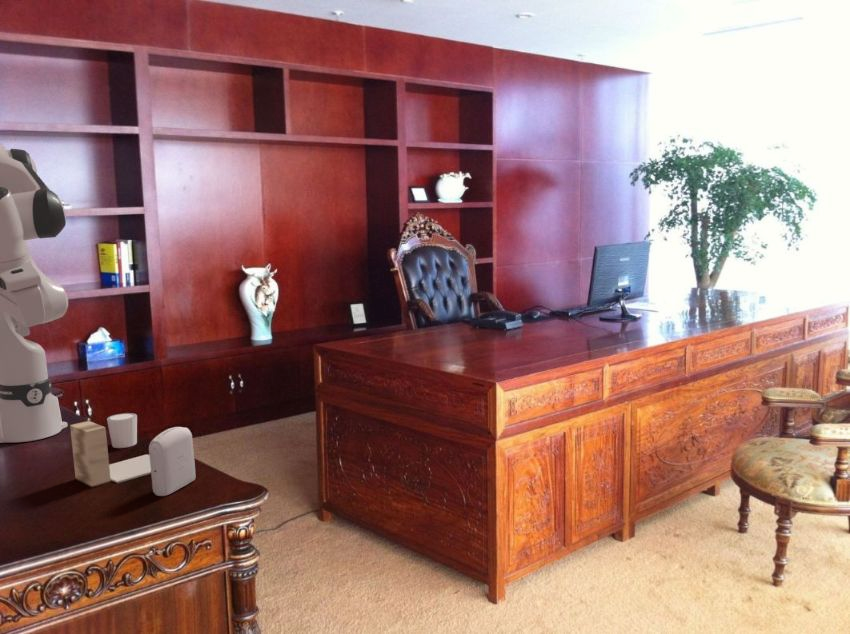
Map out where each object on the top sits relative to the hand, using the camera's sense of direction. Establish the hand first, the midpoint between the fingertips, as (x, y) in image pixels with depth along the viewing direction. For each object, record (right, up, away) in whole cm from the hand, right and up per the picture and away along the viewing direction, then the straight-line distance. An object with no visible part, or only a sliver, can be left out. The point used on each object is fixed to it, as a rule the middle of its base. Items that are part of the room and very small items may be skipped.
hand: (23, 334), depth 165 cm
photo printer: (+31, -32, +1) cm, 44 cm away
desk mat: (+17, -30, +14) cm, 37 cm away
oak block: (+11, -31, +7) cm, 34 cm away
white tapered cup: (+9, -28, +32) cm, 43 cm away
